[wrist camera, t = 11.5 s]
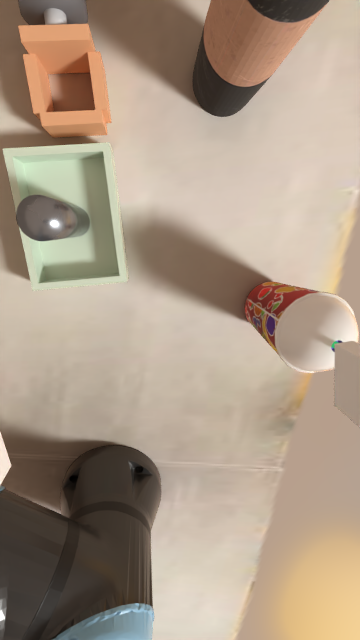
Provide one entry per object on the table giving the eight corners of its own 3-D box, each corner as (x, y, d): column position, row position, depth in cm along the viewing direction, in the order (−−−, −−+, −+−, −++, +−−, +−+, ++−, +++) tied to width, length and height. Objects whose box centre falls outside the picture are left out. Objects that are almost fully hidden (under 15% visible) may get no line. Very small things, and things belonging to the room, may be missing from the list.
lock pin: (92, 235, 38) (66, 239, 26) (62, 238, 38) (21, 243, 25) (87, 204, 37) (57, 192, 25) (56, 206, 37) (11, 196, 24)
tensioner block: (112, 134, 36) (104, 109, 29) (47, 137, 36) (23, 113, 28) (99, 24, 33) (86, -33, 26) (28, 26, 33) (-5, -32, 26)
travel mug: (180, 102, 36) (219, -48, 17) (205, 29, 34) (280, -227, 15) (238, 131, 38) (335, 24, 18) (265, 63, 36) (401, -133, 17)
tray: (128, 277, 41) (127, 282, 37) (42, 285, 40) (32, 291, 36) (113, 151, 37) (109, 142, 33) (16, 157, 36) (2, 148, 32)
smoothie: (230, 327, 44) (295, 399, 25) (244, 269, 42) (326, 299, 23) (284, 336, 45) (386, 410, 26) (300, 280, 43) (422, 316, 24)
